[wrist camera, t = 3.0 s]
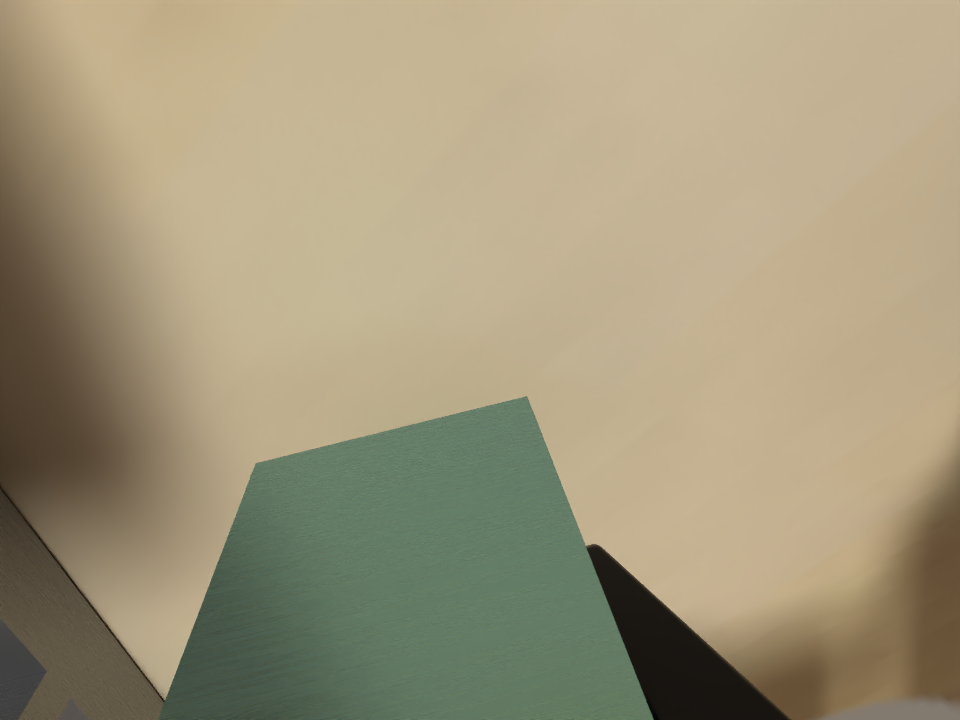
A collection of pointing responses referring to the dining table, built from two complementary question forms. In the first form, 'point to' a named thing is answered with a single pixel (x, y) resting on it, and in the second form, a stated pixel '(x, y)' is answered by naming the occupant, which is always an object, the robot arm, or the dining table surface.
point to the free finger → (408, 587)
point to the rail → (58, 642)
